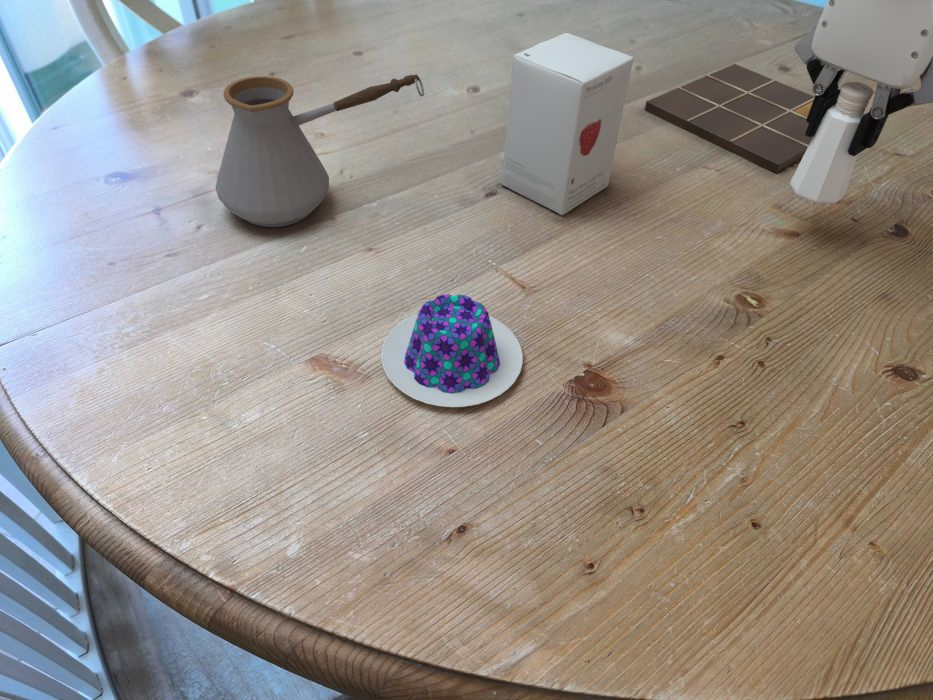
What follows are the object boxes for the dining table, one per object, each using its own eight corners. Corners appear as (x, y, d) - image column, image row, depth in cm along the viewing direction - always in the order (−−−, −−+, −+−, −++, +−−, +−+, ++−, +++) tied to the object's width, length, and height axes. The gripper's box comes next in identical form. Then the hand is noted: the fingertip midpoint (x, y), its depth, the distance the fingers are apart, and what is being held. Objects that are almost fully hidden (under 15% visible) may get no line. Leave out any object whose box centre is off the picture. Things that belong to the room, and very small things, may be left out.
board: (860, 125, 98) (864, 115, 97) (775, 173, 88) (779, 163, 88) (732, 71, 109) (734, 62, 108) (644, 109, 99) (646, 100, 98)
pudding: (512, 424, 59) (518, 378, 55) (364, 400, 60) (361, 353, 57) (529, 324, 68) (535, 279, 64) (400, 305, 69) (398, 259, 65)
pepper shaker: (814, 209, 74) (857, 105, 66) (777, 182, 77) (814, 79, 70) (856, 198, 76) (903, 94, 68) (818, 171, 79) (859, 70, 71)
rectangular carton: (562, 218, 80) (583, 83, 70) (499, 185, 84) (509, 53, 74) (611, 186, 85) (637, 55, 74) (548, 157, 89) (565, 29, 79)
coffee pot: (208, 236, 75) (174, 93, 65) (234, 175, 83) (207, 40, 73) (421, 243, 76) (421, 103, 65) (426, 182, 84) (426, 49, 73)
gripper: (1050, -49, 57) (938, 164, 70) (848, -98, 66) (782, 99, 79) (1009, -29, 54) (900, 191, 66) (802, -84, 62) (741, 120, 75)
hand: (837, 139), depth 72 cm, fingers closed on pepper shaker, 3 cm apart
